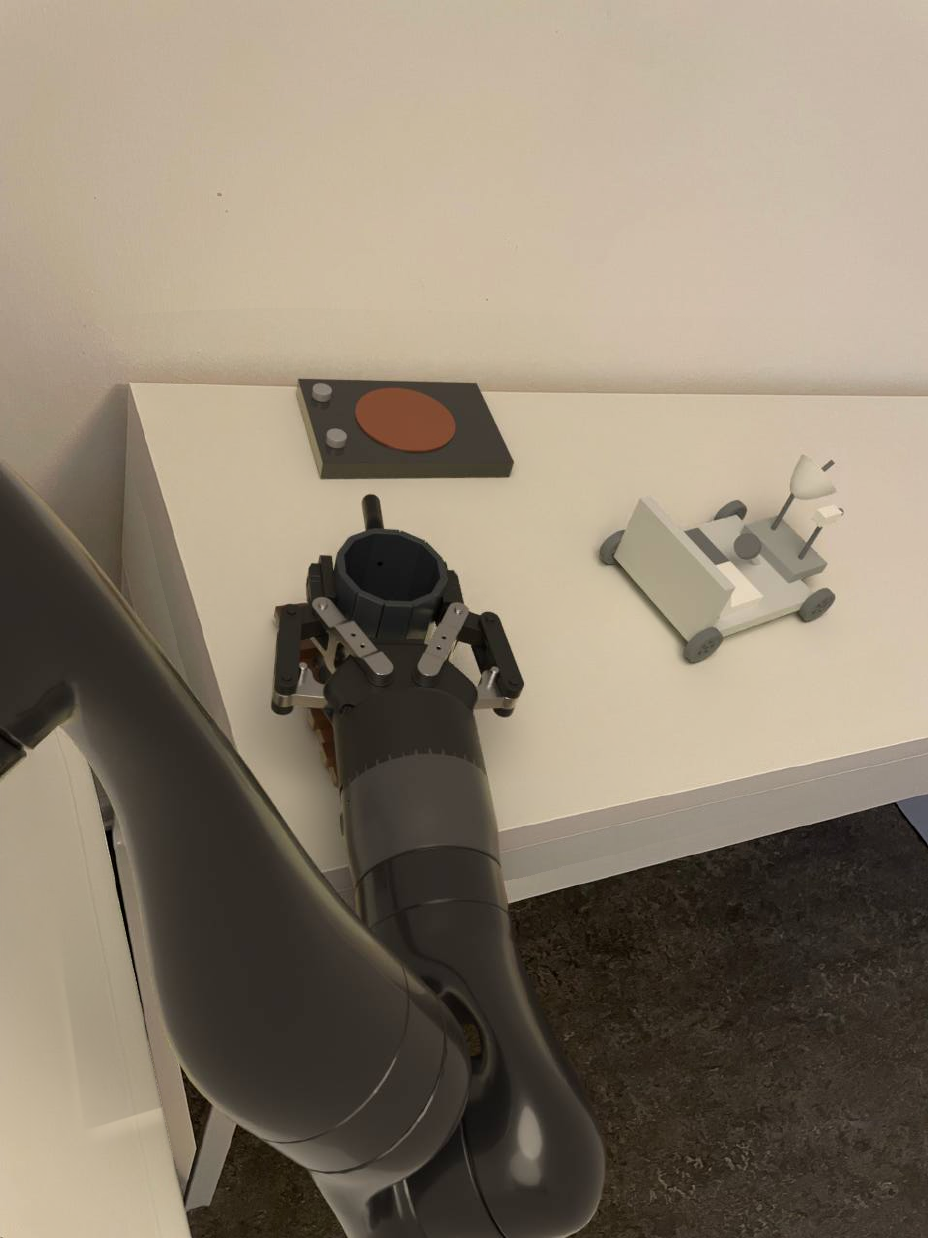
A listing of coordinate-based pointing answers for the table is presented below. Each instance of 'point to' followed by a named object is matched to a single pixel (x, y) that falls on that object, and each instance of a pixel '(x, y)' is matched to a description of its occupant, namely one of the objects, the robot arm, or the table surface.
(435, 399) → the stove
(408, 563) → the pot
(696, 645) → the toy car
